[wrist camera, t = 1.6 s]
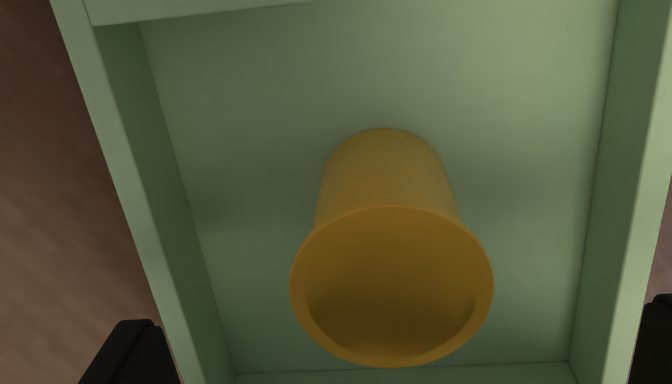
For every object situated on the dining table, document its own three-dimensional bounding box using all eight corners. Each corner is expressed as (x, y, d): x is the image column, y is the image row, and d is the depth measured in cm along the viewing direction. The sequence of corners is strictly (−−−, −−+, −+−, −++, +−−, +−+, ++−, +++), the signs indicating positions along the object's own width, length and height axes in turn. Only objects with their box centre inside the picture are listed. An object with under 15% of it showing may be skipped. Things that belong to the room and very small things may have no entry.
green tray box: (112, -18, 14) (46, -5, 11) (648, -83, 13) (730, -87, 10) (226, 372, 21) (204, 442, 18) (579, 359, 20) (616, 432, 17)
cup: (347, 93, 15) (337, 171, 10) (484, 154, 15) (537, 255, 10) (290, 215, 17) (260, 329, 12) (413, 265, 17) (431, 391, 12)
